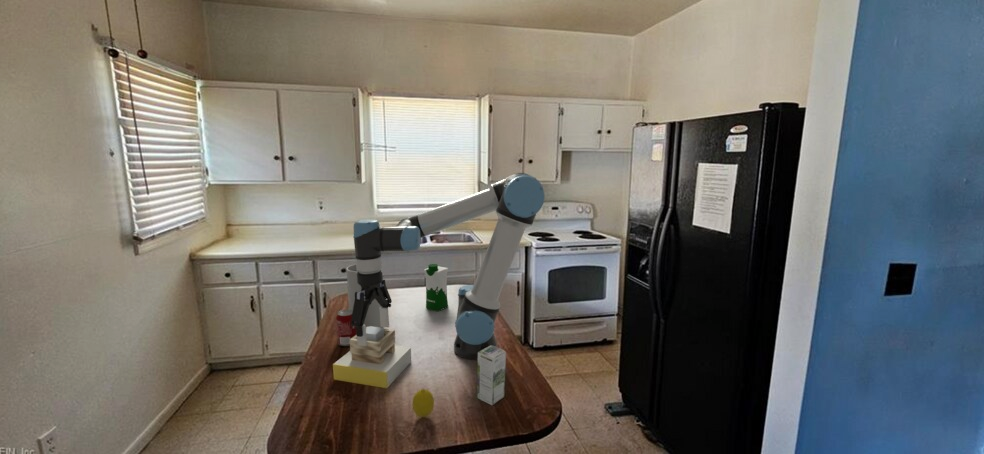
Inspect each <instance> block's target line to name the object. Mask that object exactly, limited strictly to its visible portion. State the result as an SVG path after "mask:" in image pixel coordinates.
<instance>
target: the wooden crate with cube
mask: <svg viewBox="0 0 984 454" xmlns="http://www.w3.org/2000/svg"><path fill="white" fill-rule="evenodd" d="M367 328H368V327H366V329H367ZM395 344H396V330H395V329H390V328H384V337H383V338H382V339H380V340H379V341H378V342H375V341H368V340H367V346H359V345H358V344H357V335H355V336H354V337H353V338H351V339H350V346H349V351H350V353H351V354H352V360H355V361H362V362H369V363H375V364H382V363H383V362H384V353H391V354H392V353H393V352H394V351H395Z"/></svg>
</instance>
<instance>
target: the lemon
mask: <svg viewBox="0 0 984 454" xmlns="http://www.w3.org/2000/svg"><path fill="white" fill-rule="evenodd" d="M434 406H435V401H434V396H433V393H432V392H431V391H430V390H428V389H425V388H421V389H419V390H418V391H417V392H416V393H415V394H414V395H413V398H412V410H413V412H414V414H415V415H416V416H418V417H421V418H426V417H428V416H429V415H430V414H431V413H432V412H433V409H434V408H435V407H434Z"/></svg>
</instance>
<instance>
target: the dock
mask: <svg viewBox="0 0 984 454" xmlns="http://www.w3.org/2000/svg"><path fill="white" fill-rule="evenodd" d="M411 363H412V347H411V346H410V347H409V346H402V345H395V351H394V352H393V353H392V354H391V353H384V362H383V363H382V364H375V363H369V362H362V361H355V360H352V354H351V353H350V350H349V351H348V352H347V353H345V354H344V355H342V357H340V358H339V359H338V360H337V361H335V362H334V363H332V369H333V371H332V372H333V380H335V381H341V382H346V383H353V384H358V385H365V386H372V387H378V388H383V389H388V388H389V387H390V385H392V383H394V381H395V380H396V379H397V378H398V377H399V376H400V375H401V374H402V372H403V371H404V370H405V369H406V368H407V367H408V366H409V365H410V364H411Z"/></svg>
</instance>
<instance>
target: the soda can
mask: <svg viewBox="0 0 984 454" xmlns="http://www.w3.org/2000/svg"><path fill="white" fill-rule="evenodd" d="M352 312H353V310H351V309H349V308H348V309H347V308H345V309H341V310H340V311H338V312H337V315H336V317H335V321H336V322H335V323H336V334H337V336H336V337H337V344H338V346H342V347H350V339H351V338H353V337H354V336H355V335H356V327H355V326H351V325H350V323H351V318H352Z"/></svg>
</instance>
